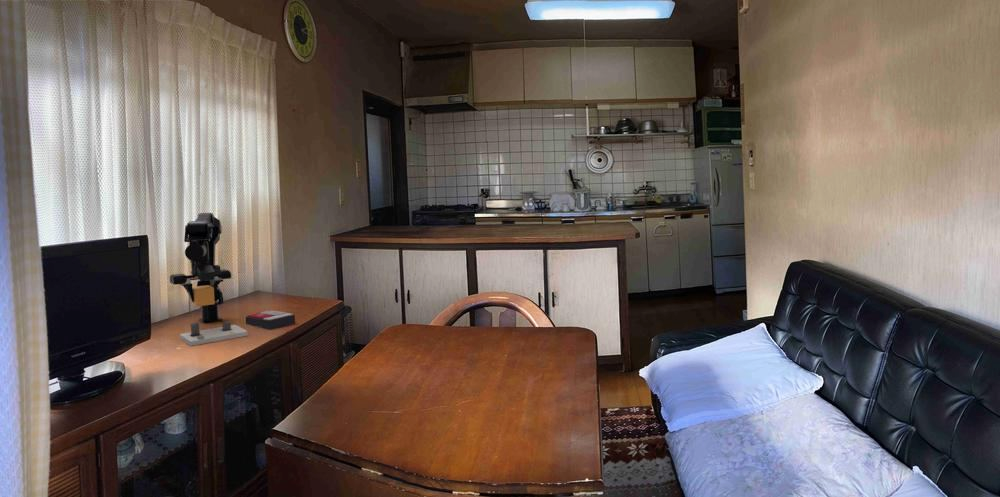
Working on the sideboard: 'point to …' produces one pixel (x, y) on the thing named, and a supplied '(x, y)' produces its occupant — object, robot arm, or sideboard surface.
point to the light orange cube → (203, 295)
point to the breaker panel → (213, 335)
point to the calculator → (270, 319)
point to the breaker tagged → (226, 326)
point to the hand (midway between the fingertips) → (202, 300)
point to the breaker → (195, 329)
